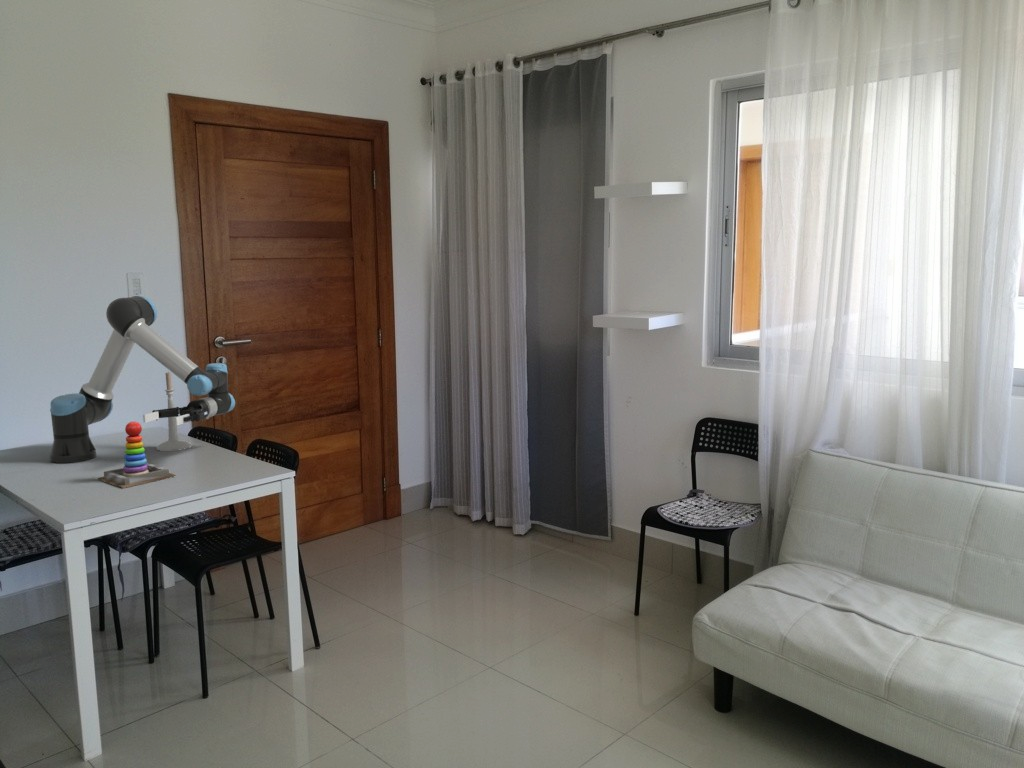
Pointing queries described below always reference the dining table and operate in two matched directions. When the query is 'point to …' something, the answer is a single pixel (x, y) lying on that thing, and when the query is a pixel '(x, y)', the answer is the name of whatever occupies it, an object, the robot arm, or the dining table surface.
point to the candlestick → (172, 424)
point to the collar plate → (123, 482)
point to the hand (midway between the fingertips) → (159, 419)
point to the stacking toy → (134, 451)
